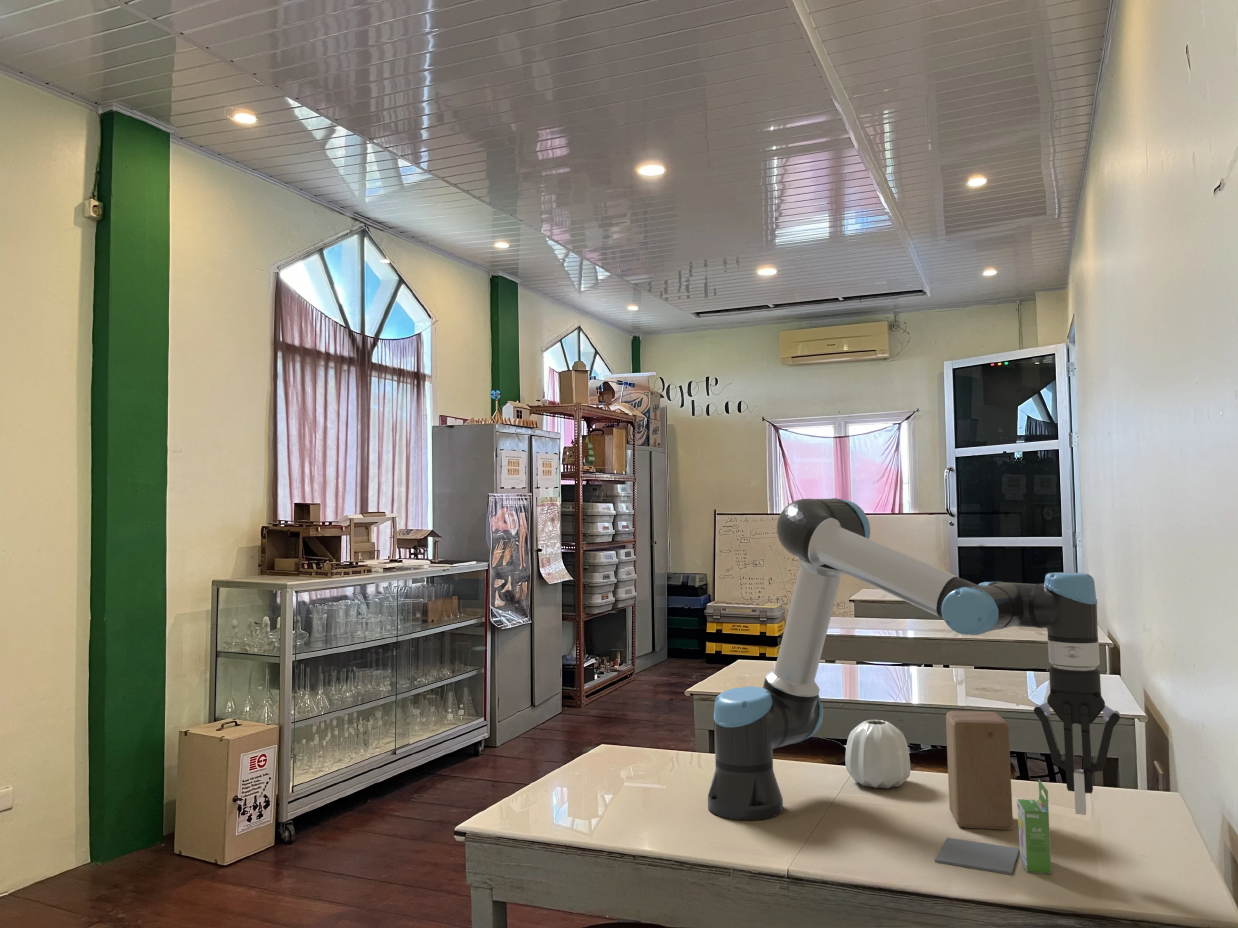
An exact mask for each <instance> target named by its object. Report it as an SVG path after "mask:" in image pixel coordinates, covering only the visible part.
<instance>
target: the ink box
mask: <svg viewBox="0 0 1238 928" xmlns="http://www.w3.org/2000/svg"><path fill="white" fill-rule="evenodd" d="M1037 780H1038V799H1024V798H1023V799H1021V798H1020V799H1019V798H1018V799H1017V801H1016V807H1017V808H1016V809H1017V823H1018V838H1019V839H1018V840H1019V854H1020V855H1019V856H1020V860H1021V862H1022V865H1023V867H1024V869H1025V872H1027V873H1031V874H1049V875H1050V874H1052V873H1053V872H1052V871H1053V870H1052V857H1051V854H1052V853H1051V833H1050V814H1049V813H1050V810H1049V790H1048V789H1047V788H1046V786H1045V785H1044V784H1043V782H1042V781H1041V780H1040V779H1039V778H1038V779H1037ZM1042 791H1043V793H1044V795H1043V794H1042Z"/></svg>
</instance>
